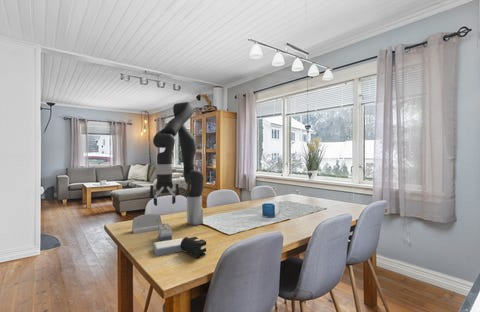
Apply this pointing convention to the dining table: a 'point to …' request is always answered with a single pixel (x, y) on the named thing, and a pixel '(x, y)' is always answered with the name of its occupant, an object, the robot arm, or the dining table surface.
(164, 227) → the housing
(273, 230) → the dining table surface
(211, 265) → the dining table surface
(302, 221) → the dining table surface
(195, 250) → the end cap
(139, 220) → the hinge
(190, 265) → the dining table surface
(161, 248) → the stand
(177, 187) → the robot arm
